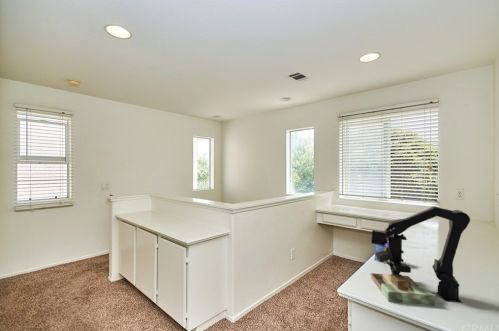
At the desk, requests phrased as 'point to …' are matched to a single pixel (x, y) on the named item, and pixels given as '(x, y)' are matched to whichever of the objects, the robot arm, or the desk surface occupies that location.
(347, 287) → the desk surface
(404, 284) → the walnut brick
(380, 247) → the ink cartridge box
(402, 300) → the trap board
